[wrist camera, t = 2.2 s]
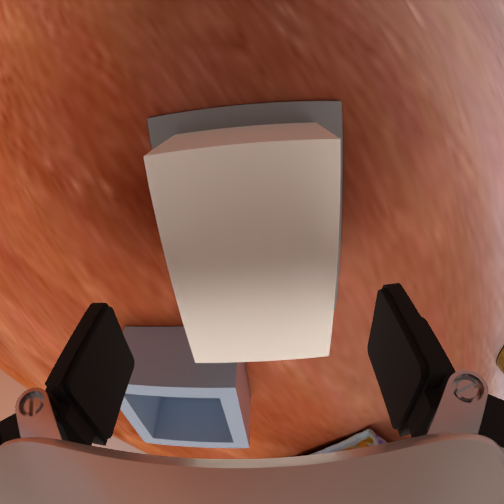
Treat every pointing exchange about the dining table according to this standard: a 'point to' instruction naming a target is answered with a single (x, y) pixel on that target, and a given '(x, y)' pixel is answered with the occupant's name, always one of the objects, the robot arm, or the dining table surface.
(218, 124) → the mat
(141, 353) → the open box
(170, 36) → the dining table surface
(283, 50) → the dining table surface
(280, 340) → the lid
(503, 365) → the vase
